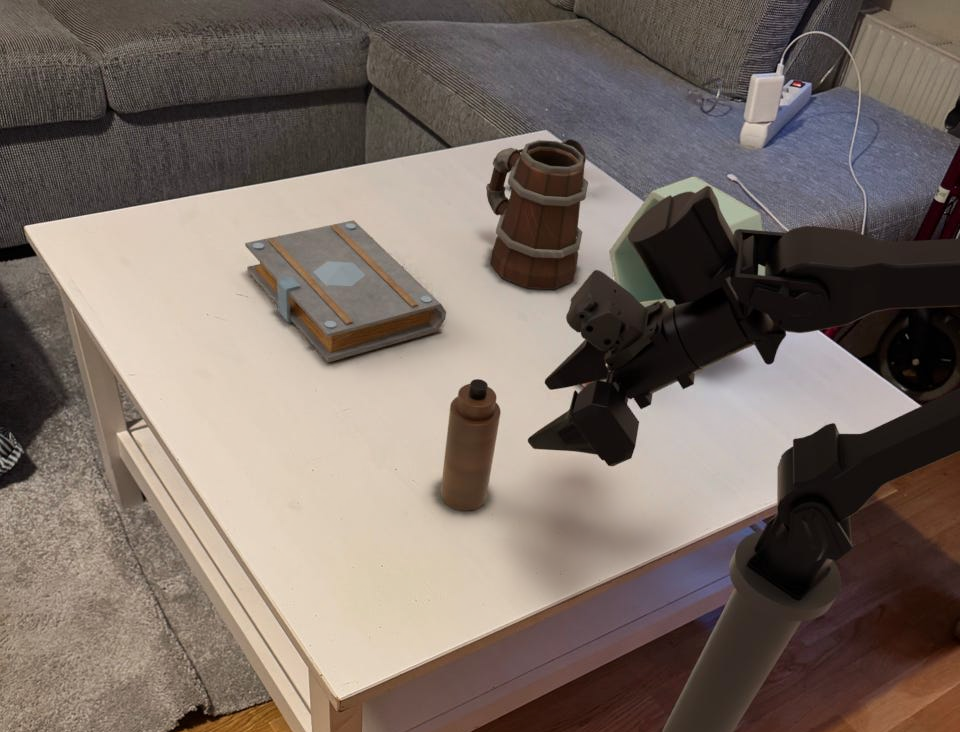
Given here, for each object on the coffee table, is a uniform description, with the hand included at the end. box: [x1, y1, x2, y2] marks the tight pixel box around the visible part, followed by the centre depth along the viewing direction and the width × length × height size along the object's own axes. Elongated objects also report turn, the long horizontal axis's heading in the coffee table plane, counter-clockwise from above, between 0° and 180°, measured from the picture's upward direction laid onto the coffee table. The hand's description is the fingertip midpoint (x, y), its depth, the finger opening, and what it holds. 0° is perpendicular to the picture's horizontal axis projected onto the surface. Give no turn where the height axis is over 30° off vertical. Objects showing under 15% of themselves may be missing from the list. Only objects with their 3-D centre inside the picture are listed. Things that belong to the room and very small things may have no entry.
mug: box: [485, 139, 589, 290], centre depth 120 cm, size 16×12×15 cm
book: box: [244, 219, 447, 363], centre depth 112 cm, size 21×16×5 cm
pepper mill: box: [440, 378, 501, 512], centre depth 90 cm, size 5×5×14 cm
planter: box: [609, 175, 765, 308], centre depth 111 cm, size 17×8×21 cm
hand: (539, 413), depth 85 cm, fingers open, 9 cm apart
